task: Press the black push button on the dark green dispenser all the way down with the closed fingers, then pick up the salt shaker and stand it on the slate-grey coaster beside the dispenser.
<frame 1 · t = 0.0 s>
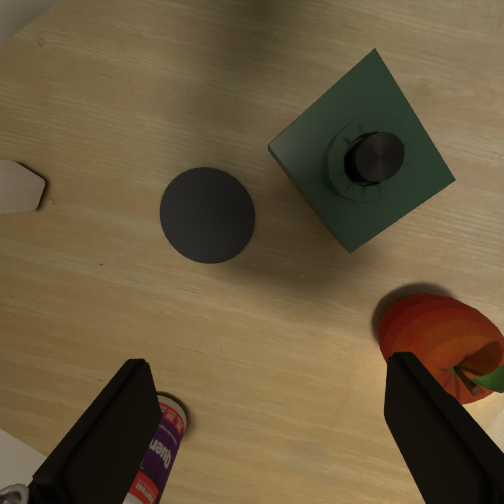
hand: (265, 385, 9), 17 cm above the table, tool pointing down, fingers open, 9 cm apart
dispenser: (348, 165, 22), on the table
coaster: (207, 217, 24), on the table
salt shaker: (29, 186, 25), on the table
black push button: (373, 159, 17), point 6 cm above the table, slide at 0.1 cm
fruit: (407, 319, 26), on the table
pill bottle: (161, 411, 33), on the table
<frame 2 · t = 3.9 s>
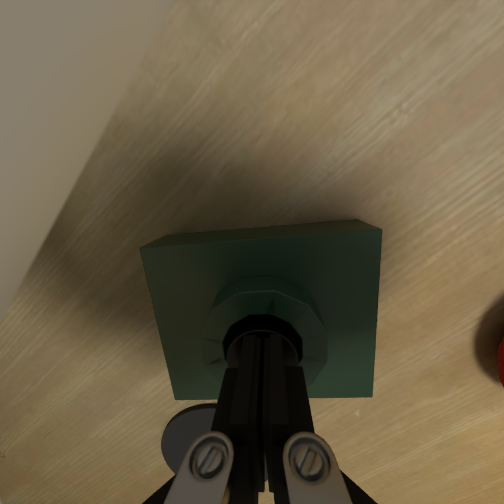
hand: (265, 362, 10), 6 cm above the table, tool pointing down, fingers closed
dispenser: (264, 299, 16), on the table
coaster: (219, 448, 20), on the table
black push button: (262, 346, 11), point 5 cm above the table, slide at -0.8 cm, touching gripper
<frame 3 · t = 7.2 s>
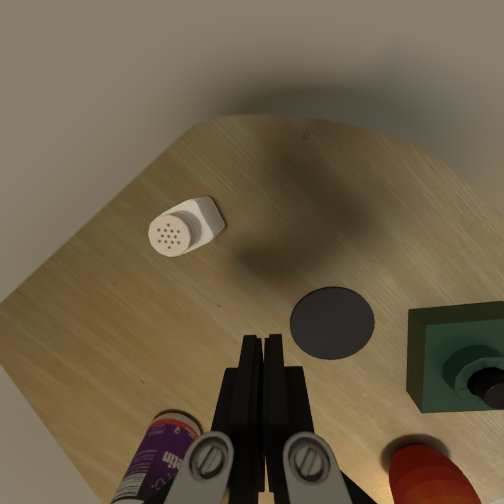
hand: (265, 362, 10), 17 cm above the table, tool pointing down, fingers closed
dispenser: (450, 349, 28), on the table
coaster: (330, 323, 29), on the table
salt shaker: (204, 218, 26), on the table
black push button: (493, 387, 23), point 6 cm above the table, slide at 0.1 cm
fruit: (410, 454, 34), on the table
pill bottle: (177, 427, 36), on the table
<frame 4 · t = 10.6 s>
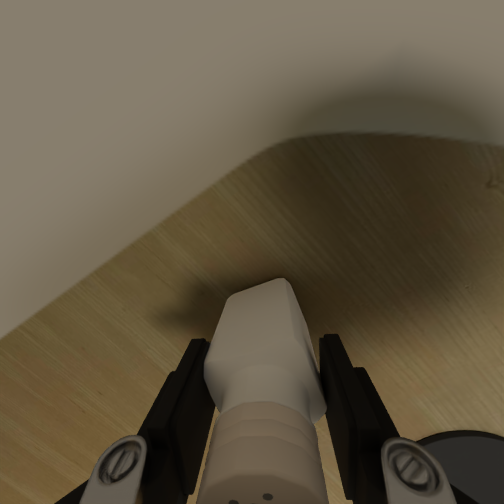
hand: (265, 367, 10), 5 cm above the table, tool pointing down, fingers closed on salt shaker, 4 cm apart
coaster: (456, 480, 17), on the table
salt shaker: (267, 308, 15), on the table, touching gripper
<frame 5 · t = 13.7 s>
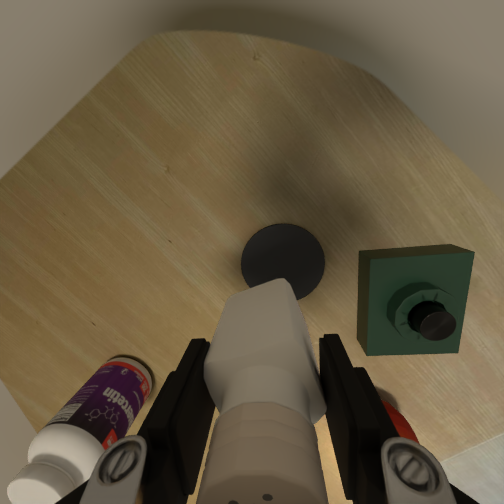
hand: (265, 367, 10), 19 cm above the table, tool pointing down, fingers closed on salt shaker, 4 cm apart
dispenser: (400, 294, 28), on the table
coaster: (282, 264, 28), on the table
salt shaker: (267, 308, 15), point 14 cm above the table, touching gripper
black push button: (431, 320, 23), point 6 cm above the table, slide at 0.1 cm
fruit: (361, 408, 34), on the table
pill bottle: (129, 374, 35), on the table
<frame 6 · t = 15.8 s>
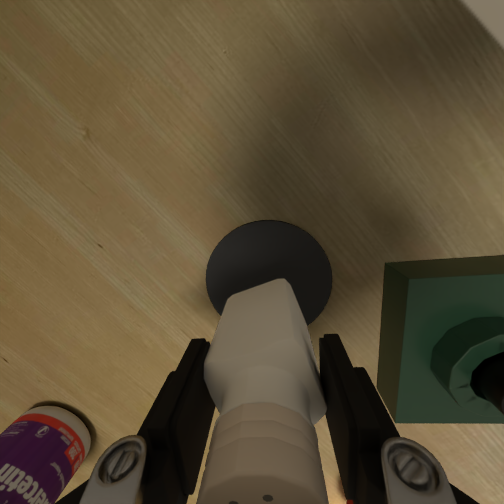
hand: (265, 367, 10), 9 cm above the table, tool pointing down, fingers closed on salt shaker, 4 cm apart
dispenser: (445, 328, 19), on the table
coaster: (267, 281, 19), on the table
salt shaker: (267, 308, 15), point 4 cm above the table, touching gripper
pill bottle: (62, 426, 26), on the table
when the fingers open (5 cm above the table, at t = 17.2 s): salt shaker stays where it is, resting on coaster.
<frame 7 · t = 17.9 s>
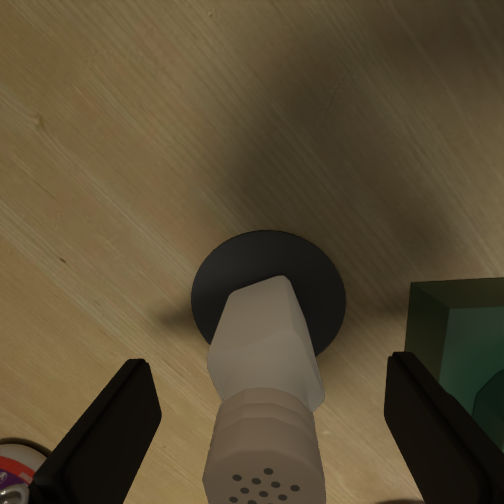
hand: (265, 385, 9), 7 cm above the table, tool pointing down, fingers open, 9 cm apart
dispenser: (482, 361, 15), on the table
coaster: (266, 304, 15), on the table
salt shaker: (267, 305, 15), resting on coaster
pill bottle: (29, 465, 22), on the table
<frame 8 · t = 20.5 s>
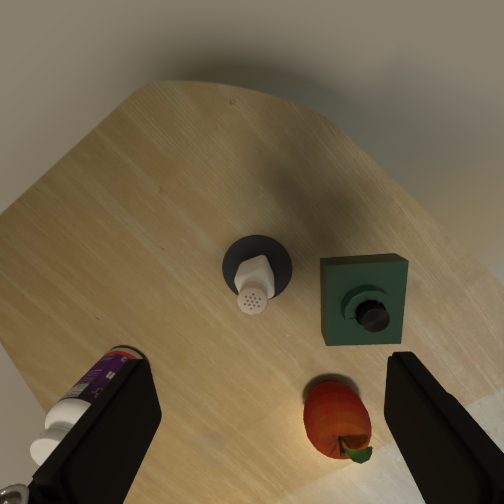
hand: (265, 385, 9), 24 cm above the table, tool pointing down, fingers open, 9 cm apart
dispenser: (356, 295, 34), on the table
coaster: (256, 268, 34), on the table
salt shaker: (257, 269, 33), resting on coaster
black push button: (372, 316, 28), point 6 cm above the table, slide at 0.1 cm
fruit: (328, 392, 39), on the table
pill bottle: (128, 363, 40), on the table
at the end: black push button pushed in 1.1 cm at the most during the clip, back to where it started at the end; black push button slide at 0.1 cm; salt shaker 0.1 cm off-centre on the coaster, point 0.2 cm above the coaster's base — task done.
